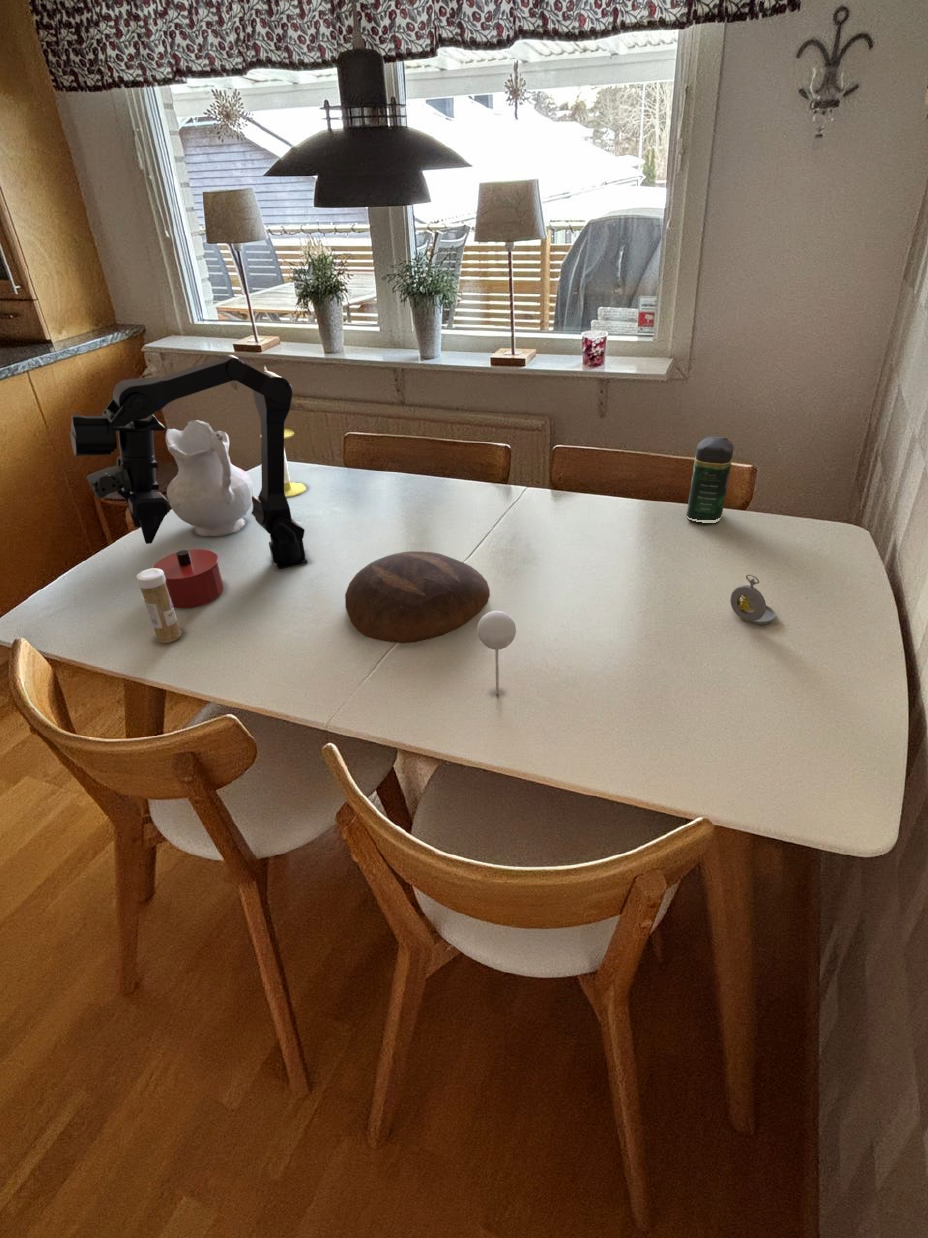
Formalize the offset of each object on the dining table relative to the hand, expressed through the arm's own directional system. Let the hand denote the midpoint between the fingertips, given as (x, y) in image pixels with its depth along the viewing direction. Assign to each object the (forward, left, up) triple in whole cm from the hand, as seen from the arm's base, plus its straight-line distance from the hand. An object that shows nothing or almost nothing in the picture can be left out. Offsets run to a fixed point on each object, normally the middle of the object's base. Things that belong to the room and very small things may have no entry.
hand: (143, 534), depth 138 cm
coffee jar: (-119, +20, -15) cm, 122 cm away
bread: (-45, +27, -15) cm, 54 cm away
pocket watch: (-98, +59, -15) cm, 115 cm away
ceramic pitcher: (-16, -29, -15) cm, 37 cm away
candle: (-35, -45, -15) cm, 59 cm away
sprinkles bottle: (0, +16, -15) cm, 21 cm away
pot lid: (-6, +1, -8) cm, 10 cm away
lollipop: (-47, +58, -15) cm, 76 cm away
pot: (-6, +1, -14) cm, 16 cm away
